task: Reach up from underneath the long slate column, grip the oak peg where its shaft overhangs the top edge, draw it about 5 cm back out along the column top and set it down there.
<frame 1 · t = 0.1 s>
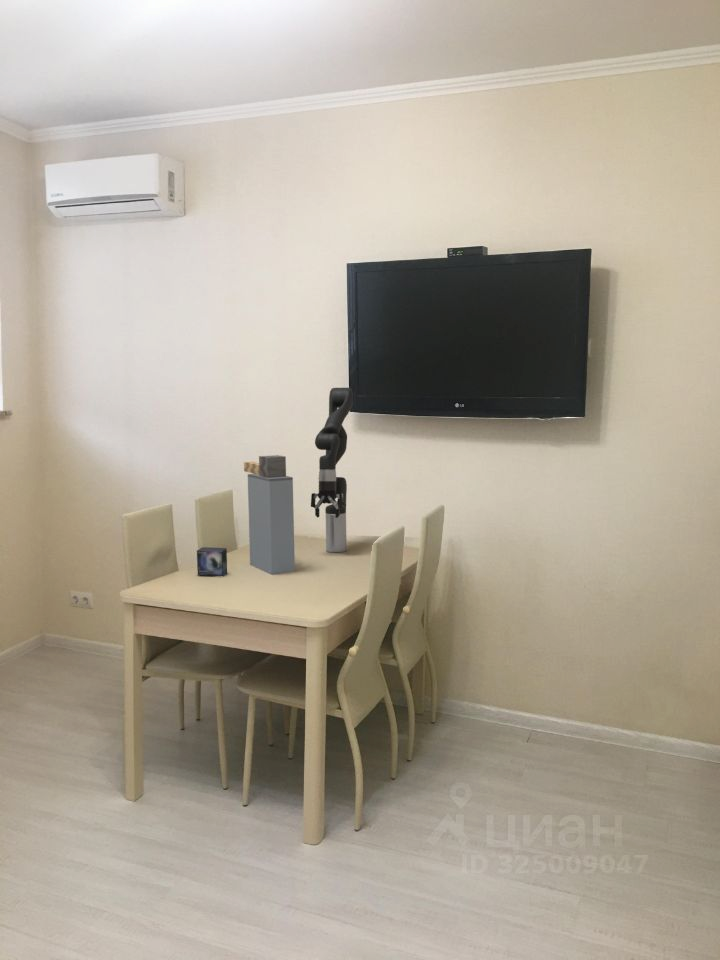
hand: (327, 517, 351), 17 cm above the table, tool pointing down, fingers open, 8 cm apart
stand: (272, 568, 333), on the table
peg: (258, 473, 338), point 38 cm above the table, touching stand
small box: (212, 575, 322), on the table
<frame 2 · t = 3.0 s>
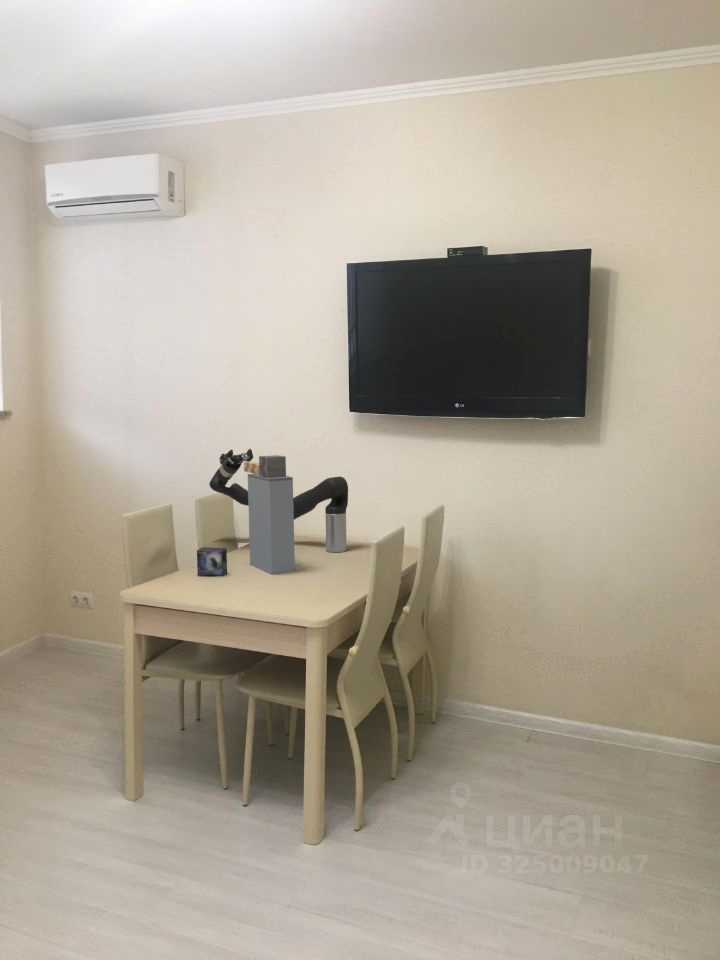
hand: (241, 451, 355), 46 cm above the table, tool pointing upward, fingers open, 8 cm apart
nothing on the table moved.
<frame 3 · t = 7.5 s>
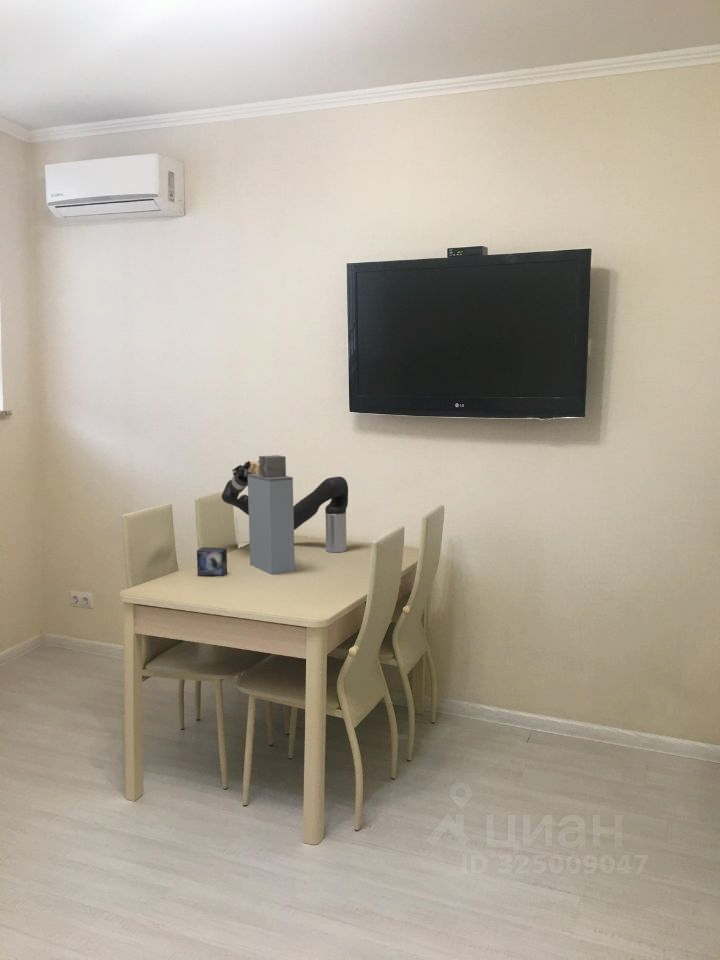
hand: (254, 463, 342), 42 cm above the table, tool pointing upward, fingers closed on peg, 4 cm apart
peg: (259, 473, 338), point 38 cm above the table, touching gripper, stand
everything else where it was.
when the fingers open (42 cm above the table, at t = 11.9 s): peg stays where it is, resting on stand.
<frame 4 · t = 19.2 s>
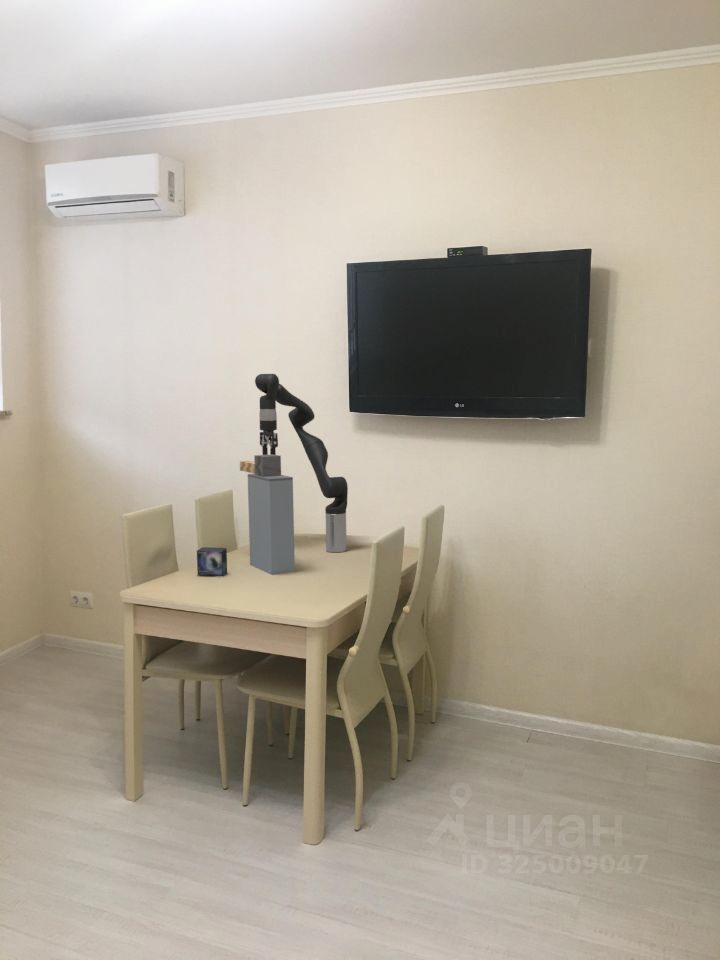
hand: (269, 456, 361), 43 cm above the table, tool pointing down, fingers open, 8 cm apart
peg: (254, 472, 342), point 38 cm above the table, touching stand
everything else where it was.
at the end: peg moved 4.7 cm from its start; peg point 38.0 cm above the table; the gripper is holding nothing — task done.
